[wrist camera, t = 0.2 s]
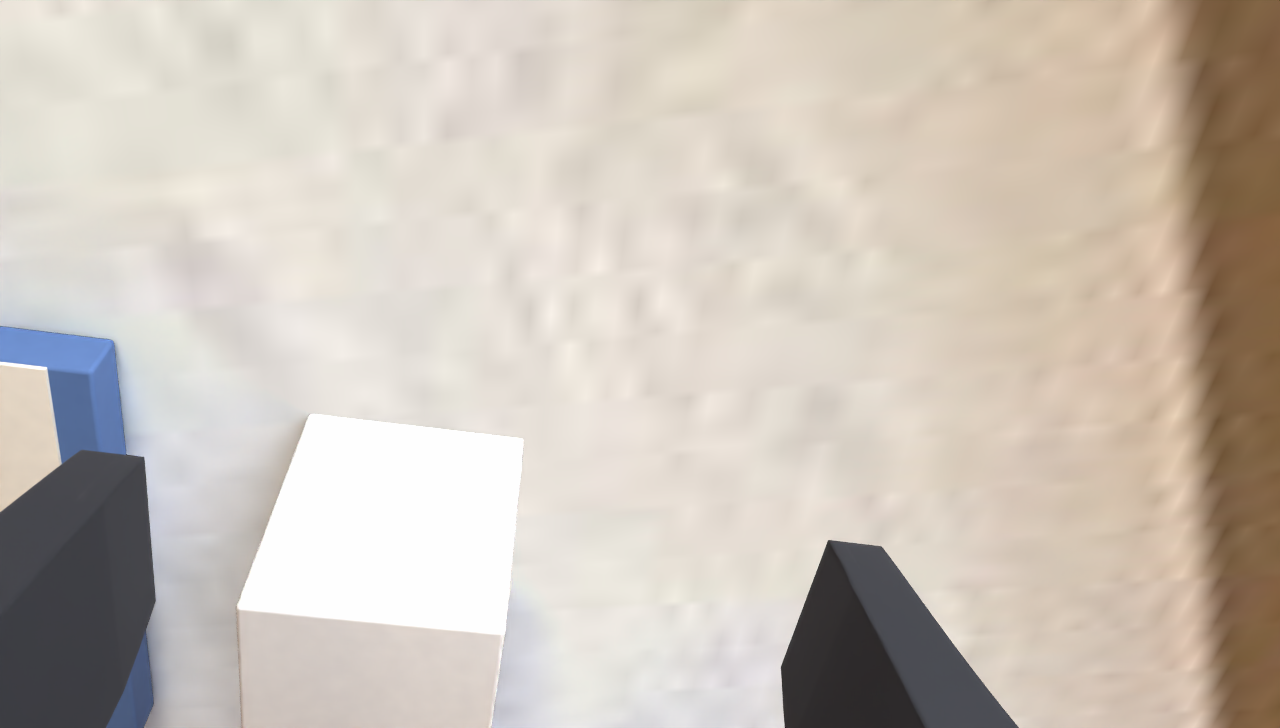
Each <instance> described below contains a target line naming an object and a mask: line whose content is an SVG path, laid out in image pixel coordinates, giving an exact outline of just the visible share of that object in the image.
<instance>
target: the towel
mask: <svg viewBox="0 0 1280 728" xmlns="http://www.w3.org/2000/svg"><path fill="white" fill-rule="evenodd" d="M80 450H89V451H97V452H105V453H114V454H122V455H126V448H125V439H124V430H123V421H122V411H121V402H120V393H119V384H118V375H117V366H116V357H115V348H114V342H113V341H112V340H109V339H101V338H93V337H84V336H76V335H68V334H60V333H52V332H44V331H35V330H27V329H19V328H11V327H3V326H0V512H1V511H2V510H3V509H5V508H6V507H7V506H9V505H10V504H11V503H12V502H14V501H15V500H16V499H17V498H19V497H20V496H21V495H23V494H24V493H25V492H26V491H28V490H29V489H30V488H31V487H33V486H34V485H35V484H37V483H38V482H39V481H40V480H42V479H43V478H44V477H46V476H47V475H48V474H49V473H51V472H52V471H53V470H55V469H56V468H57V467H59V466H60V465H61V464H62V463H64V462H65V461H66V460H68V459H69V458H70V457H72V456H73V455H75V454H76V453H78V452H79V451H80ZM153 704H154V702H153V692H152V683H151V674H150V665H149V656H148V647H147V638H146V631H145V634H144V636H143V639H142V642H141V645H140V648H139V651H138V654H137V656H136V659H135V662H134V665H133V667H132V670H131V673H130V676H129V678H128V681H127V684H126V686H125V689H124V692H123V694H122V696H121V698H120V700H119V702H118V704H117V706H116V708H115V710H114V713H113V715H112V717H111V719H110V721H109V723H108V725H107V727H106V728H144V726H145V723H146V721H147V719H148V716H149V714H150V711H151V709H152V707H153Z"/></svg>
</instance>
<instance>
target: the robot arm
mask: <svg viewBox="0 0 1280 728" xmlns="http://www.w3.org/2000/svg"><path fill="white" fill-rule="evenodd" d="M155 601H156V599H155V587H154V574H153V561H152V549H151V536H150V523H149V511H148V498H147V486H146V473H145V460H144V457H138V456H130V455H122V454H114V453H105V452H97V451H89V450H80V451H79V452H78V453H76V454H75V455H73V456H72V457H70V458H69V459H68V460H66V461H65V462H64V463H62V464H61V465H60V466H59V467H57V468H56V469H55V470H53V471H52V472H51V473H49V474H48V475H47V476H46V477H44V478H43V479H42V480H40V481H39V482H38V483H37V484H35V485H34V486H33V487H31V488H30V489H29V490H28V491H26V492H25V493H24V494H23V495H21V496H20V497H19V498H17V499H16V500H15V501H14V502H12V503H11V504H10V505H9V506H7V507H6V508H5V509H3V510H2V511H1V512H0V728H106V727H107V725H108V723H109V721H110V719H111V717H112V715H113V713H114V710H115V708H116V706H117V704H118V702H119V700H120V698H121V696H122V694H123V692H124V689H125V686H126V684H127V681H128V678H129V676H130V673H131V670H132V667H133V665H134V662H135V659H136V656H137V654H138V651H139V648H140V645H141V642H142V639H143V636H144V634H145V631H146V628H147V625H148V622H149V619H150V616H151V613H152V610H153V607H154V604H155ZM781 676H782V692H783V709H784V722H785V728H1019V727H1018V726H1017V725H1016V724H1015V722H1014V721H1013V720H1012V719H1011V718H1010V716H1009V715H1008V714H1007V713H1006V712H1005V710H1004V709H1003V708H1002V707H1001V705H1000V704H999V703H998V701H997V700H996V699H995V698H994V696H993V695H992V694H991V693H990V691H989V690H988V689H987V688H986V686H985V685H984V684H983V682H982V681H981V680H980V679H979V677H978V676H977V675H976V673H975V672H974V671H973V669H972V668H971V667H970V666H969V664H968V663H967V662H966V660H965V659H964V658H963V656H962V655H961V654H960V652H959V651H958V650H957V648H956V647H955V646H954V644H953V643H952V642H951V640H950V639H949V638H948V636H947V635H946V633H945V632H944V631H943V629H942V628H941V627H940V625H939V624H938V623H937V621H936V620H935V619H934V617H933V616H932V614H931V613H930V612H929V610H928V609H927V608H926V606H925V605H924V603H923V602H922V601H921V599H920V598H919V597H918V595H917V594H916V592H915V591H914V590H913V588H912V587H911V586H910V584H909V583H908V581H907V580H906V579H905V577H904V576H903V574H902V573H901V572H900V570H899V569H898V568H897V566H896V565H895V564H894V562H893V561H892V560H891V558H890V557H889V556H888V554H887V553H886V552H885V550H884V549H883V548H882V547H881V546H873V545H865V544H856V543H848V542H840V541H832V540H828V542H827V545H826V548H825V550H824V553H823V556H822V558H821V561H820V564H819V567H818V569H817V572H816V575H815V577H814V580H813V583H812V585H811V588H810V591H809V593H808V596H807V599H806V601H805V604H804V607H803V609H802V612H801V615H800V617H799V620H798V623H797V625H796V628H795V631H794V633H793V636H792V639H791V641H790V644H789V647H788V649H787V652H786V655H785V658H784V660H783V663H782V666H781Z"/></svg>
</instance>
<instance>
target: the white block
mask: <svg viewBox="0 0 1280 728" xmlns="http://www.w3.org/2000/svg"><path fill="white" fill-rule="evenodd" d="M523 447H524V441H523V439H521V438H515V437H506V436H497V435H489V434H480V433H472V432H463V431H455V430H446V429H438V428H429V427H421V426H412V425H404V424H395V423H387V422H378V421H370V420H361V419H352V418H344V417H335V416H327V415H318V414H310V415H309V416H308V418H307V421H306V424H305V426H304V429H303V431H302V434H301V437H300V439H299V442H298V445H297V447H296V450H295V453H294V455H293V458H292V461H291V463H290V466H289V468H288V471H287V474H286V476H285V479H284V482H283V484H282V487H281V490H280V492H279V495H278V497H277V500H276V503H275V505H274V508H273V511H272V513H271V516H270V519H269V521H268V524H267V527H266V529H265V532H264V534H263V537H262V540H261V542H260V545H259V548H258V550H257V553H256V556H255V558H254V561H253V563H252V566H251V569H250V571H249V574H248V577H247V579H246V582H245V585H244V587H243V590H242V593H241V595H240V598H239V600H238V603H237V606H236V615H237V637H238V659H239V682H240V704H241V726H242V728H491V727H492V720H493V713H494V706H495V700H496V693H497V686H498V679H499V673H500V666H501V659H502V652H503V646H504V639H505V632H506V621H507V611H508V601H509V591H510V580H511V570H512V560H513V550H514V539H515V529H516V519H517V509H518V498H519V488H520V478H521V468H522V458H523Z"/></svg>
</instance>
